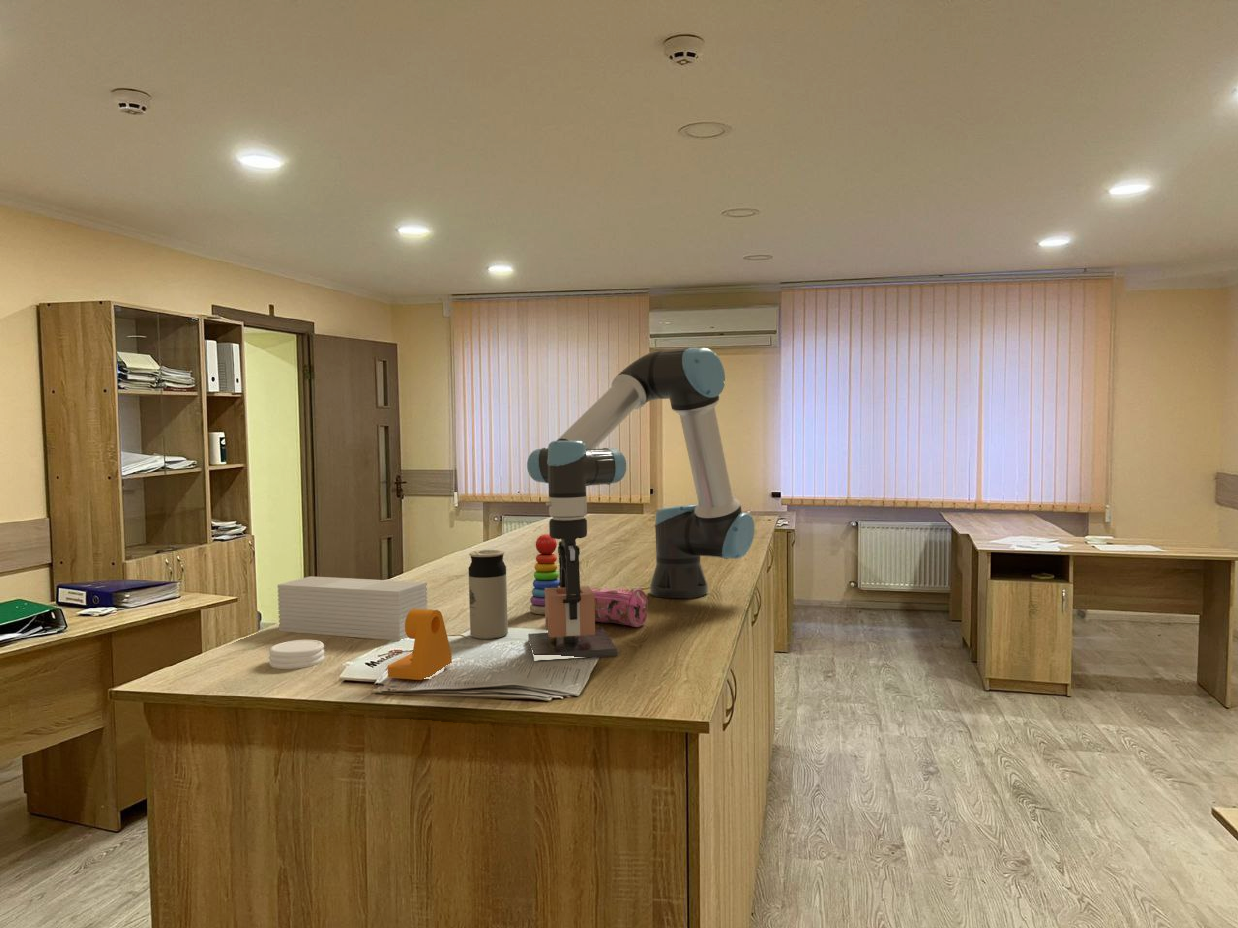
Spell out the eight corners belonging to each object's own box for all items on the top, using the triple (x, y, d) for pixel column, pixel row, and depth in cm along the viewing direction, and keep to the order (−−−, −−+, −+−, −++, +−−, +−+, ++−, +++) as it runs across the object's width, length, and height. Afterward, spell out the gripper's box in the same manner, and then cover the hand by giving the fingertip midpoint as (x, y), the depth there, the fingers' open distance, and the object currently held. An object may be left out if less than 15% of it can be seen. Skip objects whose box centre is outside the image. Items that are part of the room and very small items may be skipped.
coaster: (296, 654, 170) (295, 637, 170) (335, 658, 167) (335, 641, 166) (257, 667, 161) (257, 649, 161) (298, 672, 157) (297, 654, 157)
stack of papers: (279, 632, 190) (277, 584, 190) (311, 621, 200) (310, 576, 200) (400, 641, 179) (398, 591, 178) (428, 630, 189) (426, 582, 188)
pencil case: (552, 623, 193) (551, 584, 192) (575, 614, 201) (574, 577, 200) (633, 633, 182) (632, 592, 181) (654, 624, 190) (653, 584, 189)
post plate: (528, 640, 176) (527, 609, 176) (604, 636, 179) (603, 605, 179) (533, 661, 161) (533, 627, 160) (616, 656, 163) (616, 622, 163)
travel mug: (507, 629, 187) (504, 548, 186) (508, 638, 179) (506, 553, 178) (470, 631, 185) (468, 550, 184) (470, 640, 177) (467, 555, 177)
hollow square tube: (545, 626, 173) (544, 588, 173) (589, 624, 175) (588, 586, 174) (549, 637, 164) (548, 596, 164) (595, 634, 166) (594, 594, 166)
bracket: (417, 664, 160) (415, 602, 160) (451, 667, 158) (449, 603, 158) (385, 681, 150) (383, 614, 150) (421, 684, 148) (419, 616, 147)
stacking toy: (558, 615, 199) (556, 536, 198) (525, 614, 201) (523, 536, 200) (566, 608, 207) (564, 532, 206) (535, 607, 209) (533, 532, 208)
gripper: (544, 513, 179) (547, 618, 180) (554, 524, 157) (556, 644, 158) (579, 511, 180) (582, 616, 181) (594, 522, 159) (596, 641, 160)
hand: (570, 629), depth 170 cm, fingers closed on hollow square tube, 9 cm apart
